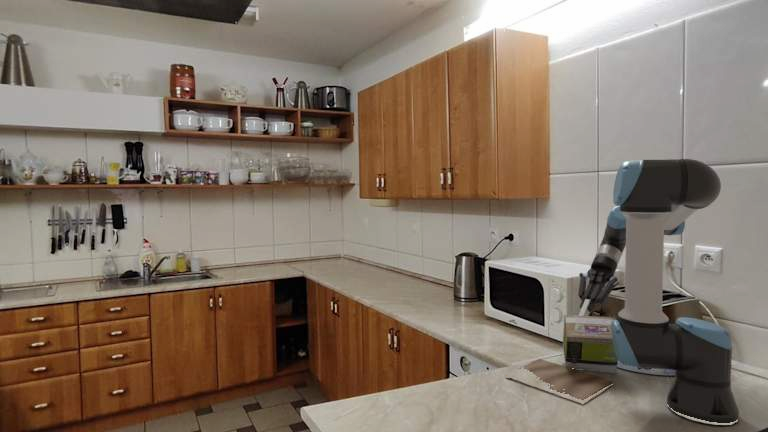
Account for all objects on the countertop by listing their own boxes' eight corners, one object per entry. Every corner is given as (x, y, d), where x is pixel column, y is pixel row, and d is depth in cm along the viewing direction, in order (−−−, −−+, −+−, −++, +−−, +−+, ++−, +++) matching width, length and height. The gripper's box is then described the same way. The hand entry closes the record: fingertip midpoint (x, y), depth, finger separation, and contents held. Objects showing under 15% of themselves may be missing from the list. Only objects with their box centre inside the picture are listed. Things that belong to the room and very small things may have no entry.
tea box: (610, 349, 151) (615, 316, 143) (616, 374, 143) (621, 340, 135) (561, 345, 155) (564, 313, 147) (564, 369, 147) (567, 336, 139)
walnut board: (613, 384, 135) (614, 380, 135) (582, 404, 122) (583, 400, 122) (539, 362, 153) (539, 358, 153) (506, 377, 141) (506, 373, 141)
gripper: (629, 270, 154) (606, 329, 144) (590, 266, 164) (566, 320, 154) (622, 256, 151) (598, 315, 141) (583, 252, 161) (558, 307, 151)
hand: (582, 318), depth 148 cm, fingers closed
